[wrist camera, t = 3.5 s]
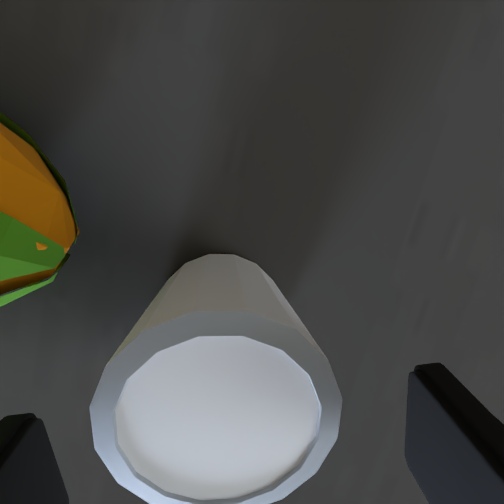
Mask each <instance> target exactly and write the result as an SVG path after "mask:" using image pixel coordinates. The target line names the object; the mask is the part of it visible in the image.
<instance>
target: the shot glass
mask: <svg viewBox="0 0 504 504" xmlns="http://www.w3.org/2000/svg"><path fill="white" fill-rule="evenodd" d="M341 406H342V397H341V394H340V391H339V388H338V386H337V383H336V380H335V377H334V374H333V372H332V369H331V366H330V363H329V361H328V359H327V358H326V356H325V355H324V353H323V352H322V350H321V349H320V348H319V346H318V345H317V343H316V342H315V340H314V339H313V337H312V336H311V335H310V333H309V332H308V330H307V329H306V327H305V326H304V325H303V323H302V322H301V320H300V319H299V317H298V316H297V314H296V313H295V312H294V310H293V309H292V307H291V306H290V304H289V303H288V301H287V300H286V299H285V297H284V296H283V294H282V293H281V291H280V290H279V288H278V287H277V286H276V284H275V283H274V281H273V280H272V279H271V278H270V277H269V276H268V275H267V274H266V273H265V272H264V271H263V270H262V269H261V268H260V267H259V266H258V265H257V264H256V263H254V262H251V261H249V260H247V259H244V258H242V257H239V256H237V255H234V254H207V255H205V256H202V257H200V258H197V259H194V260H192V261H189V262H187V263H185V264H184V265H183V266H182V267H181V268H180V269H179V270H178V271H176V272H175V273H174V274H173V275H172V276H171V277H170V278H169V279H168V280H167V282H166V283H165V284H164V286H163V287H162V289H161V290H160V291H159V293H158V294H157V295H156V297H155V298H154V300H153V301H152V302H151V304H150V305H149V306H148V308H147V309H146V311H145V312H144V313H143V315H142V316H141V318H140V319H139V320H138V322H137V323H136V324H135V326H134V327H133V329H132V330H131V331H130V333H129V334H128V335H127V337H126V338H125V340H124V341H123V342H122V344H121V345H120V347H119V348H118V349H117V351H116V352H115V353H114V355H113V356H112V358H111V359H110V360H109V362H108V363H107V364H106V366H105V369H104V371H103V374H102V377H101V379H100V382H99V384H98V387H97V389H96V392H95V394H94V397H93V400H92V402H91V405H90V415H91V424H92V432H93V440H94V449H95V450H96V451H97V453H98V454H99V456H100V457H101V459H102V460H103V462H104V463H105V465H106V466H107V468H108V469H109V471H110V472H111V474H112V475H113V477H114V478H115V480H116V481H117V483H119V484H120V485H122V486H123V487H125V488H126V489H128V490H129V491H131V492H132V493H134V494H136V495H137V496H139V497H140V498H142V499H143V500H145V501H146V502H148V503H149V504H270V503H273V502H275V501H278V500H281V499H283V498H284V497H286V496H287V495H288V494H290V493H291V492H292V491H293V490H295V489H296V488H297V487H299V486H300V485H301V484H302V483H304V482H305V481H306V480H308V479H309V478H310V477H311V476H313V475H314V474H315V473H316V472H317V471H318V469H319V467H320V466H321V464H322V463H323V461H324V459H325V458H326V456H327V454H328V453H329V451H330V450H331V448H332V446H333V445H334V443H335V441H336V440H337V437H338V430H339V422H340V414H341Z"/></svg>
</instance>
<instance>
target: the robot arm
mask: <svg viewBox="0 0 504 504" xmlns="http://www.w3.org/2000/svg"><path fill="white" fill-rule="evenodd" d="M405 458H406V461H407V464H408V467H409V469H410V471H411V472H412V474H413V476H414V478H415V479H416V481H417V483H418V485H419V487H420V488H421V490H422V492H423V494H424V495H425V497H426V499H427V501H428V502H429V504H504V425H503V424H502V423H501V422H500V421H499V420H498V419H497V418H496V417H494V416H493V415H492V414H491V413H490V412H489V411H488V410H487V409H486V408H485V407H484V406H483V405H482V404H481V403H480V402H479V401H478V400H477V399H476V398H475V397H474V396H473V395H472V394H471V393H470V392H469V391H468V390H467V389H466V388H465V387H464V386H463V384H462V383H461V382H460V381H459V380H458V379H457V378H456V377H455V376H454V375H453V374H452V373H451V372H450V371H449V370H448V369H447V368H446V367H445V366H444V365H442V364H441V363H431V364H423V365H417V366H416V367H415V369H414V372H410V373H409V379H408V398H407V417H406V436H405ZM0 504H69V498H68V494H67V491H66V488H65V485H64V483H63V480H62V477H61V474H60V471H59V468H58V465H57V462H56V459H55V456H54V453H53V450H52V447H51V444H50V441H49V438H48V435H47V432H46V429H45V426H44V423H43V421H42V420H41V419H40V418H36V416H35V415H34V414H33V413H26V414H18V415H10V416H6V417H4V418H3V419H2V420H1V421H0Z"/></svg>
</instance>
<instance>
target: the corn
mask: <svg viewBox="0 0 504 504" xmlns="http://www.w3.org/2000/svg"><path fill="white" fill-rule="evenodd" d="M78 234H79V229H78V226H77V222H76V216H75V213H74V209H73V206H72V203H71V199H70V196H69V193H68V189H67V186H66V183H65V180H64V179H63V178H62V176H61V175H60V174H59V172H58V171H57V170H56V169H55V167H54V166H53V165H52V163H51V162H50V161H49V160H48V158H47V157H46V156H45V154H44V153H43V152H42V151H41V149H40V148H39V147H38V145H37V144H36V143H35V142H34V140H33V139H32V138H31V137H30V135H29V134H28V133H27V132H25V131H24V130H23V129H22V128H20V127H19V126H18V125H17V124H15V123H14V122H13V121H11V120H10V119H9V118H8V117H6V116H5V115H4V114H3V113H1V112H0V295H1V294H3V293H6V292H9V291H12V290H15V289H17V288H21V287H27V286H30V287H27V288H24V289H21V290H18V291H15V292H13V293H10V294H7V295H4V296H1V297H0V307H1V306H3V305H5V304H7V303H9V302H11V301H13V300H15V299H17V298H20V297H22V296H24V295H26V294H28V293H30V292H32V291H34V290H36V289H38V288H40V287H42V286H45V285H47V284H49V283H51V282H53V280H54V278H55V276H56V274H57V273H56V274H54V275H53V273H54V272H56V271H58V270H59V269H60V268H61V267H62V266H63V264H64V263H65V262H66V261H67V259H68V258H69V256H70V254H67V251H68V250H69V248H70V246H71V245H72V243H73V242H76V238H77V235H78ZM74 244H75V243H74ZM52 275H53V276H52ZM51 276H52V277H51ZM48 277H51V278H50V279H49V280H47V281H44V282H41V281H42V280H44V279H45V278H48ZM39 282H41V283H39ZM38 283H39V284H38ZM32 285H33V286H32Z"/></svg>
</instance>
